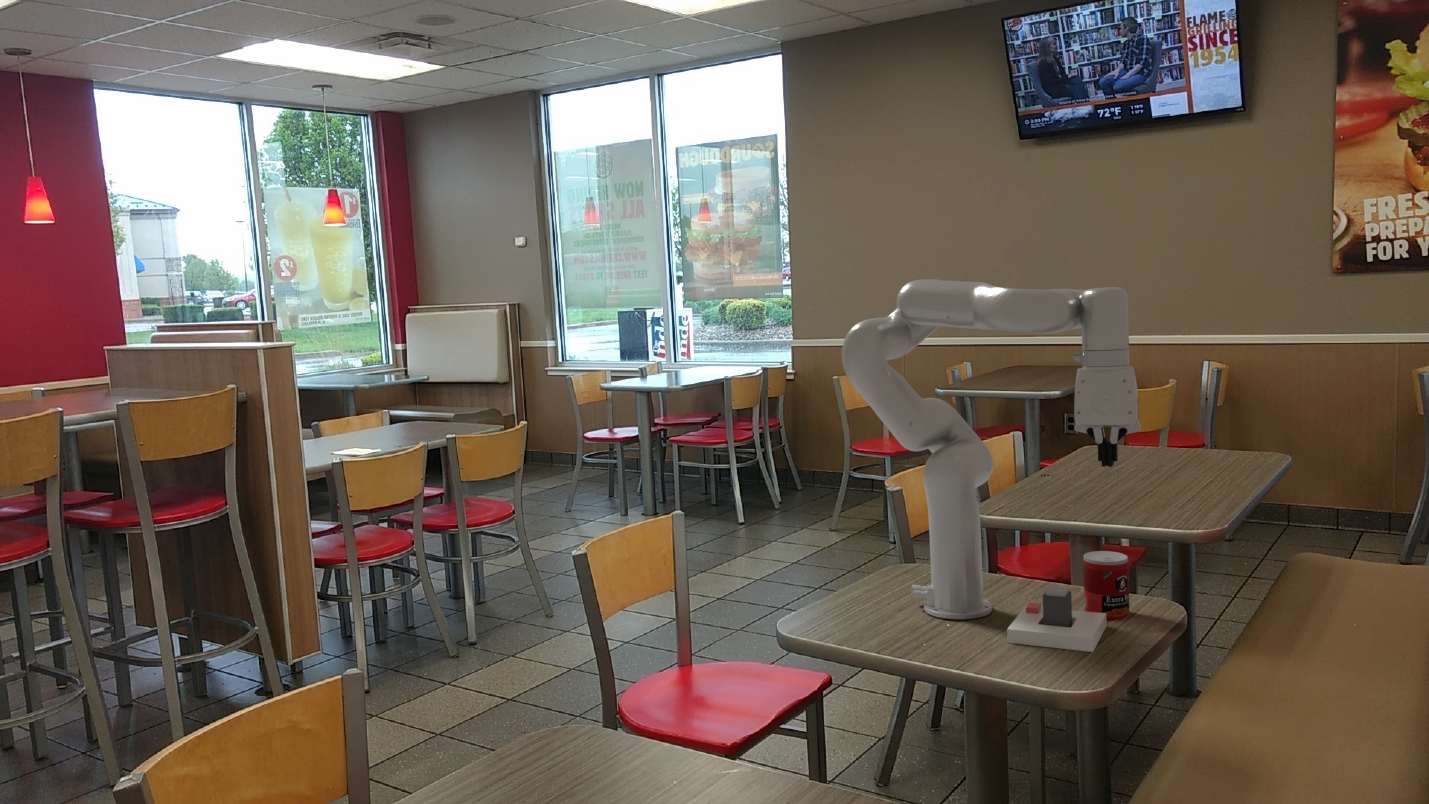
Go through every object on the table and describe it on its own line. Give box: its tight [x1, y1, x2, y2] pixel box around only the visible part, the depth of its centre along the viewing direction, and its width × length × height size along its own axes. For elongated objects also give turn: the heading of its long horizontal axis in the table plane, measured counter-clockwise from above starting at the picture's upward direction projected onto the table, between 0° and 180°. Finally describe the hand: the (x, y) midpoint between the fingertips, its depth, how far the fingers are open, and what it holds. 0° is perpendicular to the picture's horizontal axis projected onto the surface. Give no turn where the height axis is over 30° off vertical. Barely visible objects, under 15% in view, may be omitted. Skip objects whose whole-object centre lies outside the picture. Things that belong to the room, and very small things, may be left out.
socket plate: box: [1006, 602, 1107, 653], centre depth 181 cm, size 14×14×3 cm
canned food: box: [1082, 550, 1130, 622], centre depth 189 cm, size 8×8×11 cm
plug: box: [1042, 585, 1073, 628], centre depth 180 cm, size 4×4×8 cm
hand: (1108, 465), depth 179 cm, fingers closed
